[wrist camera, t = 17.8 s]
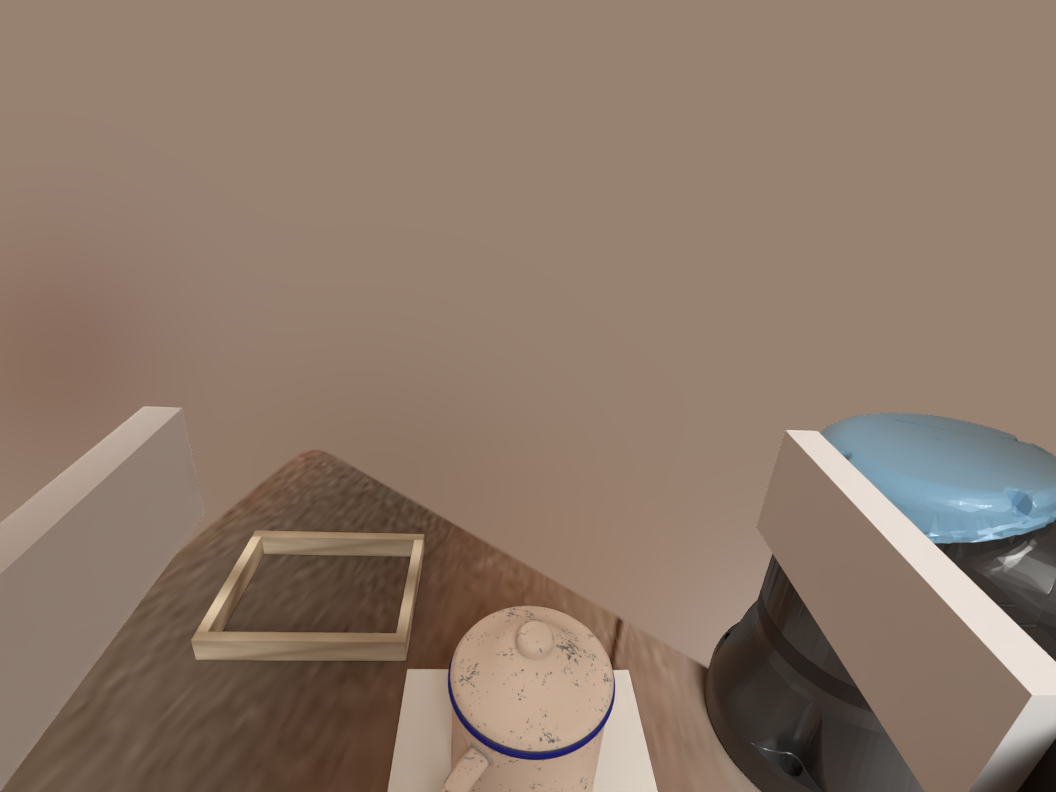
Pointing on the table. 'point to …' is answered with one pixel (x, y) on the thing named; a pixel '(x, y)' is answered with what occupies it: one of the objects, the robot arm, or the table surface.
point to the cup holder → (307, 644)
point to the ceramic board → (428, 738)
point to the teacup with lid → (528, 703)
